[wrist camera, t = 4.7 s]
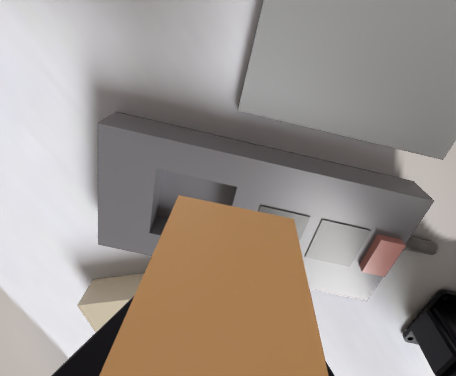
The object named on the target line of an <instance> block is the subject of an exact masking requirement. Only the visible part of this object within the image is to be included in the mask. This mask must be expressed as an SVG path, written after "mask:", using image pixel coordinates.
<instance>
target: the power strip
mask: <svg viewBox="0 0 456 376" xmlns="http://www.w3.org/2000/svg"><path fill="white" fill-rule="evenodd" d="M178 195H180V196H185V197H190V198H195V199H200V200H205V201H209V202H214V203H219V204H224V205H229V206H234V207H239V208H243V209H248V210H253V211H258V212H263V213H268V214H272V215H277V216H282V217H287V218H292V219H294V221H295V225H296V230H297V234H298V239H299V244H300V248H301V253H302V257H303V262H304V266H305V271H306V275H307V280H308V284H309V289H311V290H316V291H320V292H325V293H330V294H335V295H339V296H344V297H349V298H353V299H358V300H363V301H367V300H368V299H369V297H370V296H371V294H372V293H373V291H374V290H375V288H376V287H377V285H378V284H379V282H380V281H381V279H382V278H383V277H385V276H386V274H387V273H388V271H389V270H390V268H391V267H392V265H393V264H394V262H395V261H396V259H397V258H398V256H399V255H400V254H401V252H402V251H403V249H406V250H410V251H415V252H419V253H424V254H428V255H434V254H436V253H437V252H438V249H439V248H438V245H437V244H436V243H435V242H432V241H428V240H424V239H419V238H415V237H410V236H411V235H412V233H413V232H414V230H415V229H416V227H417V226H418V224H419V223H420V221H421V220H422V218H423V217H424V215H425V214H426V212H427V211H428V209H429V208H430V206H431V205H432V203H433V202H434V200H432V198H431V197H430V196H429V195H427V194H426V193H425V192H424V191H423V190H422V189H421V188H420V187H419V186H418V185H417V184H416V183H415V182H414V181H410V180H406V179H401V178H397V177H393V176H388V175H384V174H380V173H376V172H371V171H367V170H363V169H358V168H354V167H350V166H346V165H341V164H337V163H333V162H328V161H324V160H320V159H316V158H311V157H307V156H303V155H298V154H294V153H290V152H286V151H281V150H277V149H273V148H269V147H264V146H260V145H256V144H251V143H247V142H243V141H239V140H234V139H230V138H226V137H221V136H217V135H213V134H209V133H204V132H200V131H196V130H191V129H187V128H183V127H179V126H174V125H170V124H166V123H161V122H157V121H153V120H149V119H144V118H140V117H136V116H131V115H127V114H123V113H119V112H115V113H113V114H112V115H110V116H109V117H107V118H106V119H104V120H102V121H101V122H99V123H98V244H99V245H103V246H108V247H113V248H117V249H122V250H127V251H132V252H136V253H141V254H146V255H150V256H152V255H153V252H154V250H155V248H156V246H157V243H158V241H159V239H160V236H161V234H162V232H163V230H164V227H165V225H166V223H167V220H168V218H169V216H170V214H171V211H172V209H173V207H174V205H175V202H176V200H177V198H178Z"/></svg>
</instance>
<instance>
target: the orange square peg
mask: <svg viewBox="0 0 456 376" xmlns="http://www.w3.org/2000/svg"><path fill="white" fill-rule="evenodd" d="M99 376H329V375H328V371H327V366H326V362H325V357H324V353H323V348H322V343H321V339H320V334H319V330H318V325H317V321H316V316H315V312H314V307H313V303H312V298H311V294H310V289H309V284H308V280H307V275H306V271H305V266H304V262H303V257H302V253H301V248H300V244H299V239H298V234H297V230H296V225H295V221H294V219H292V218H287V217H282V216H277V215H272V214H268V213H263V212H258V211H253V210H248V209H243V208H239V207H234V206H229V205H224V204H219V203H214V202H209V201H205V200H200V199H195V198H190V197H185V196H180V195H178V198H177V200H176V202H175V205H174V207H173V209H172V211H171V214H170V216H169V218H168V220H167V223H166V225H165V227H164V230H163V232H162V234H161V236H160V239H159V241H158V243H157V246H156V248H155V250H154V252H153V255H152V257H151V259H150V261H149V264H148V266H147V268H146V271H145V273H144V275H143V277H142V280H141V282H140V284H139V286H138V289H137V291H136V293H135V296H134V298H133V300H132V302H131V305H130V307H129V309H128V312H127V314H126V316H125V318H124V321H123V323H122V325H121V327H120V330H119V332H118V334H117V337H116V339H115V341H114V343H113V346H112V348H111V350H110V352H109V355H108V357H107V359H106V362H105V364H104V366H103V368H102V371H101V373H100V375H99Z"/></svg>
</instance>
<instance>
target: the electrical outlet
mask: <svg viewBox="0 0 456 376" xmlns="http://www.w3.org/2000/svg"><path fill="white" fill-rule="evenodd" d="M143 275H144V273H141V274H133V275H125V276H118V277H110V278H102V279H94V280H93V281H92V282H91V284H90V286H89V287H88V289H87V290H86V292H85V294H84V295H83V297H82V299H81V300H80V302H79V303H78V305H77V306H78V307H79V309H80V310H81V312H82V313H83V315H84V316H85V317H86V319H87V320H88V322H89V323H90V325H91V326H92V328H93V329H94V331H95V332H97V331H98V330H99V329H100V328H101V327H102V326H103V325H104V324H105V323H106V322H107V321H108V320H109V319H110V318H111V317H112V316H114V315H115V314H116V313H117V312H118V311H119V310H120V309H121V308H122V307H123V306H124V305H125V304H126V303H127V302H128V301H129V300H130V299H131V298H132V297H133V296H134V295H135V293H136V291H137V289H138V286H139V284H140V282H141V280H142V277H143Z"/></svg>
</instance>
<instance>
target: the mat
mask: <svg viewBox="0 0 456 376" xmlns="http://www.w3.org/2000/svg"><path fill="white" fill-rule="evenodd" d="M238 111H240V112H244V113H249V114H253V115H257V116H261V117H265V118H270V119H274V120H278V121H282V122H286V123H291V124H295V125H299V126H303V127H307V128H312V129H316V130H320V131H324V132H328V133H333V134H337V135H341V136H345V137H349V138H354V139H358V140H362V141H366V142H370V143H375V144H379V145H383V146H387V147H391V148H396V149H400V150H404V151H408V152H412V153H417V154H421V155H425V156H429V157H434V158H438V159H442V160H443V159H444V157H445V156H446V154H447V153H448V151H449V150H450V148H451V146H452V145H453V143H454V142H455V140H456V0H264V1H263V5H262V9H261V13H260V18H259V22H258V26H257V30H256V35H255V39H254V43H253V47H252V52H251V56H250V60H249V64H248V69H247V73H246V77H245V81H244V86H243V90H242V94H241V98H240V103H239V107H238Z"/></svg>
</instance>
